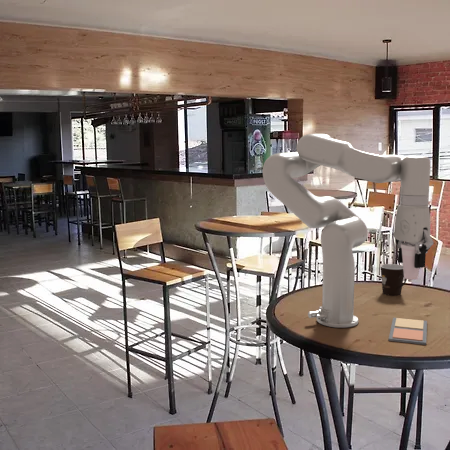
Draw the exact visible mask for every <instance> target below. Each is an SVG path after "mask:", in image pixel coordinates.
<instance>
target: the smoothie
mask: <svg viewBox="0 0 450 450" xmlns="http://www.w3.org/2000/svg"><path fill="white" fill-rule="evenodd" d="M421 247H422V245H420V248H421ZM401 248H402V259H403V263H402V266H403V271H404V278H405V279H406V280H410V281H413V280H418V278H419V273H420V269H421V268H415V267H414V262H415V254H416V253H417V252H416V247H415V244H412V243H408V242H405V243H401ZM404 278H403V279H404Z"/></svg>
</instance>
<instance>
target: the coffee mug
mask: <svg viewBox="0 0 450 450" xmlns="http://www.w3.org/2000/svg"><path fill="white" fill-rule="evenodd" d="M380 275H381V276H380V278H381V288H382V294H383V295H386V296H391V297H397V296H401V295H402V289H403V286H405V285H406V283H407V279H405V278H404V271H403V264H402V265H401V264H397V263H395V264H394V263H385V264H381V265H380Z"/></svg>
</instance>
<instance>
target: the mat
mask: <svg viewBox="0 0 450 450" xmlns="http://www.w3.org/2000/svg"><path fill="white" fill-rule="evenodd" d="M427 328H428V320H423V319H422V320H421V319H411V318H409V319H408V318H401V317H400V318H399V317H393V318H392V322H391V326H390V330H389V331H390V332H389V335H388V341H389V342H397V343H398V342H399V343H405V344H416V345H422V346H423V345H425V346H427V335H428V334H427Z"/></svg>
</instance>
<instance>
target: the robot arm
mask: <svg viewBox="0 0 450 450" xmlns="http://www.w3.org/2000/svg"><path fill="white" fill-rule="evenodd" d="M295 148H296V151H294V152H293V151H291V152H277V153H274V154H272V155H269V156H268V157H267V159H265V161H264V163H263V166H262V178H263V181H264V184H265V187H267V190H268V192H269V193H271V194H272V196H274V197H275V199H277V200H278V202H280V203H282V204H283V205H284V206H285V207H286V208H287V209H288V210H289V211H290V212H291V213H293V215H295V216H296V218H298V219H299V220H300V221H301V222H302V223H304V224H305V225H306V226H307V227H308V228H309V229H320V228H323V229H322V231H321V234H320V244H321V251H322V253H321V254H322V302H321V303H322V305H321V306H319V307H318V309H317V310H315V311H314V310H313V311H311V310H310V311H308V312H307V317H308V318H309V319H312V318H313V319H314V318H315V319H316V322H318V323H319V324H320V325H323V326H325V327H330V328H339V329H344V328H352V327H355V326H357V325H358V324H359V318H358V316H356V315H354V306H355V305H354V304H355V278H356V277H355V273H356V271H355V269H356V266H355V257H354V253H353V249H354V248H357V247H361V246H362V245H363V244H364V243H365V242H366V241H367V239H368V237H369V236H368V235H369V232H368V227H367V225H366V223H365V222H364V221H363V220H362V218H360V217H359V216H358V215H357V214H356V213H355V212H353V210H351V209H350V208H349V207H347V206H346V205H345V204H344V203H343V202H342V201H340V200H339V199H337V198H335V197H333V196H330V195H329V196H328V195H326V196H325V195H323V196H317V195H316V194H315V195H314V193H312V192H311V191H310V190H309V189H307V188H306V187H305V186H304V185H303V184H301V183H300V182H298V181H296V180H295V179H297V178H301V177H304V176H306V175H308V174H309V173H311V172H312V171H314V170H315V169H317V168H319V167H320V166H323V167H327V168H330V169H335V170H337V171H340V172H342V173H344V174H346V175H348V176H351V177H354V178H357V179H359V180H363V181H367V182H372V183H377V184H382V183H388V182H389V183H391V182H397V181H400V190H399V191H400V193H399V204H398V205H397V208H396V213H395V219H394V222H395V223H394V228H393V229H394V231H393V233H392V235H393V238H394V240H395V243H396V244H397V245H396V249H398V253H397V254H398V255H397V262H398V263H400V264H403V259H402V248H401V243H405V242H408V243H412V244H415V247H416V252H417V253H416V254H415V262H414V267H415V268H420V269H422V268H425V267H426V256H427V254H428V251H429V250H430V249H431V247H432V246H433V245H434V243H435V242H434V239H433V238H432V236H431V214H430V208H429V207H430V206H429V200H430V199H429V197H430V181H431V179H430V178H431V159H430V158H429V156H424V155H423V156H422V155H407V156H404V155H398V154H381V155H379V154H375V153H369V152H365V151H362V150H359V149H356V148H354V147H353V145H352V143H350V142H348V141H344V140H339V139H335V138H333V137H332V136H331V135H329V134H325V133H308V134H305V135H303V136H301V137H300V138H299V139H298V141H297V143H296V147H295ZM420 245H422V247H421V248H420Z"/></svg>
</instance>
